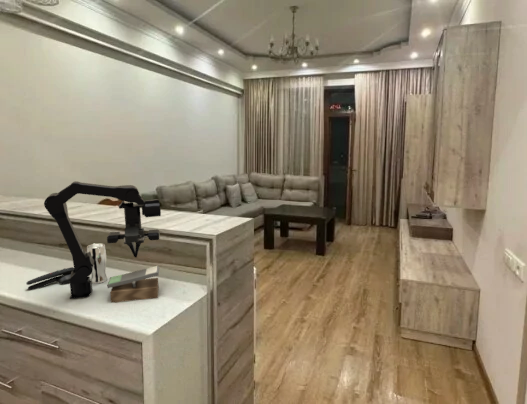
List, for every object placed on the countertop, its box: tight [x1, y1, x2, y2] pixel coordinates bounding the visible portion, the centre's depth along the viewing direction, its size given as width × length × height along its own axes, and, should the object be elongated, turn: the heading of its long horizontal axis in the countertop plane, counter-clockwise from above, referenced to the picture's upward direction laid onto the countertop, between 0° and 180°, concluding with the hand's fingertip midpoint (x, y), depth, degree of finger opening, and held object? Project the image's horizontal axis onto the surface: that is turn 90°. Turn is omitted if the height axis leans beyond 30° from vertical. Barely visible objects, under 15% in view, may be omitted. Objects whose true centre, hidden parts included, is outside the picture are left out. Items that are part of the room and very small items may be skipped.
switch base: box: [110, 277, 159, 303], centre depth 133 cm, size 16×9×6 cm, turn 104°
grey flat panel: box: [106, 265, 160, 289], centre depth 132 cm, size 18×7×2 cm, turn 103°
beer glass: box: [86, 243, 108, 285], centre depth 145 cm, size 7×7×15 cm
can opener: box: [26, 266, 74, 291], centre depth 143 cm, size 18×7×6 cm, turn 127°
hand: (135, 257), depth 139 cm, fingers closed
